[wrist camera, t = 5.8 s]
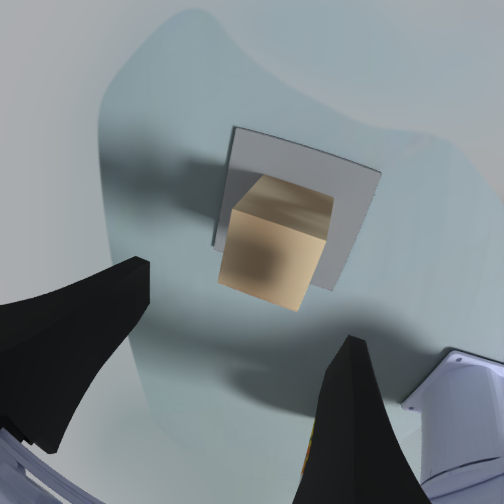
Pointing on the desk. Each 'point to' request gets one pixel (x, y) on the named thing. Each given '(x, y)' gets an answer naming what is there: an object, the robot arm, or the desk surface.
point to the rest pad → (309, 176)
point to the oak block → (275, 241)
